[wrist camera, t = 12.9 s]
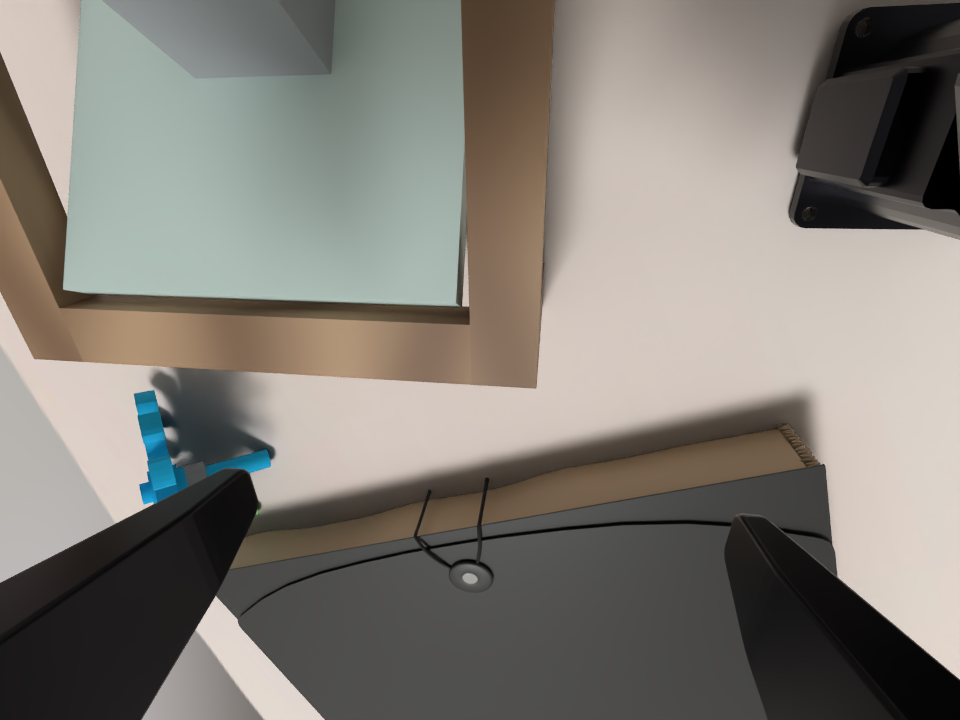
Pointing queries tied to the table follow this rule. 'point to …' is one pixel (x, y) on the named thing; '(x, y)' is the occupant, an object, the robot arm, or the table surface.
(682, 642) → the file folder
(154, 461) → the gear
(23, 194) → the frame
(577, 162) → the table surface
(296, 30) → the stone block
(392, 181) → the trapdoor
